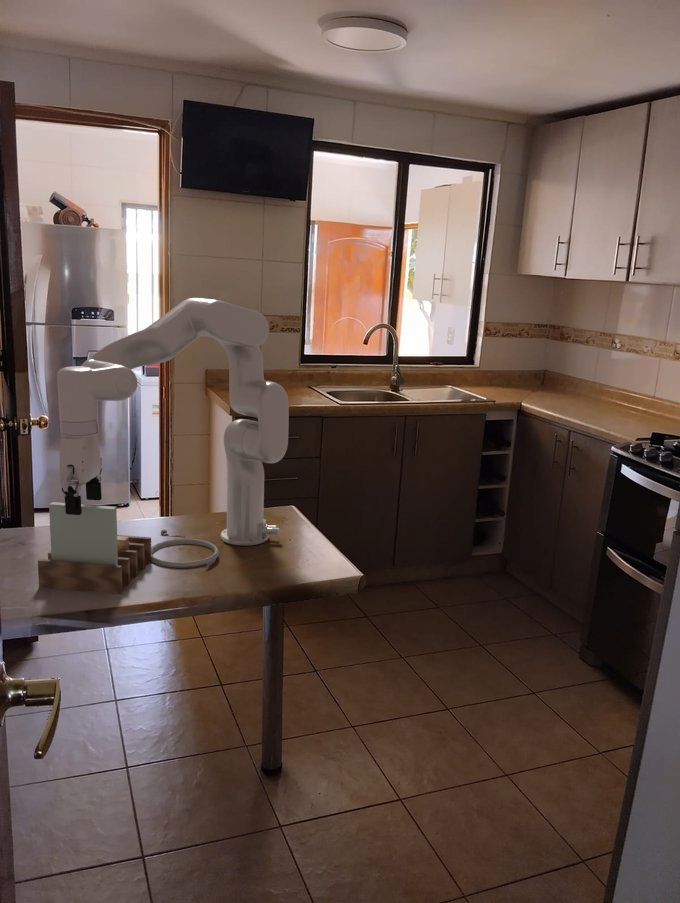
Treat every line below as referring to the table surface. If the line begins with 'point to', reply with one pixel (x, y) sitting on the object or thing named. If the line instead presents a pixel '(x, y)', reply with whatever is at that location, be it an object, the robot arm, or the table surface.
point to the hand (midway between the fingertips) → (84, 506)
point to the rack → (97, 570)
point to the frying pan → (184, 541)
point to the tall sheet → (84, 534)
